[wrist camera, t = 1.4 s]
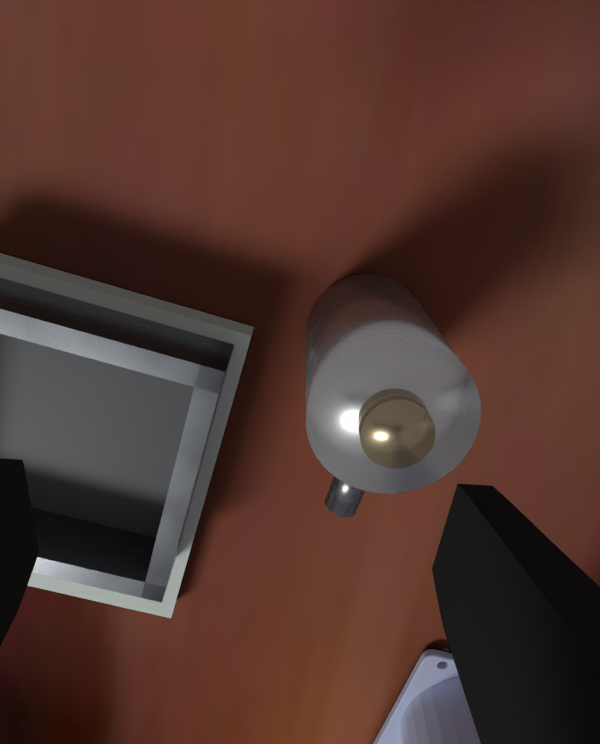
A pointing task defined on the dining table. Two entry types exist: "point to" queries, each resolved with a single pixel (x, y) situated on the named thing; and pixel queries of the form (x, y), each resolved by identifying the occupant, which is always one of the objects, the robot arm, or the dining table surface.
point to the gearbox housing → (112, 428)
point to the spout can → (383, 392)
